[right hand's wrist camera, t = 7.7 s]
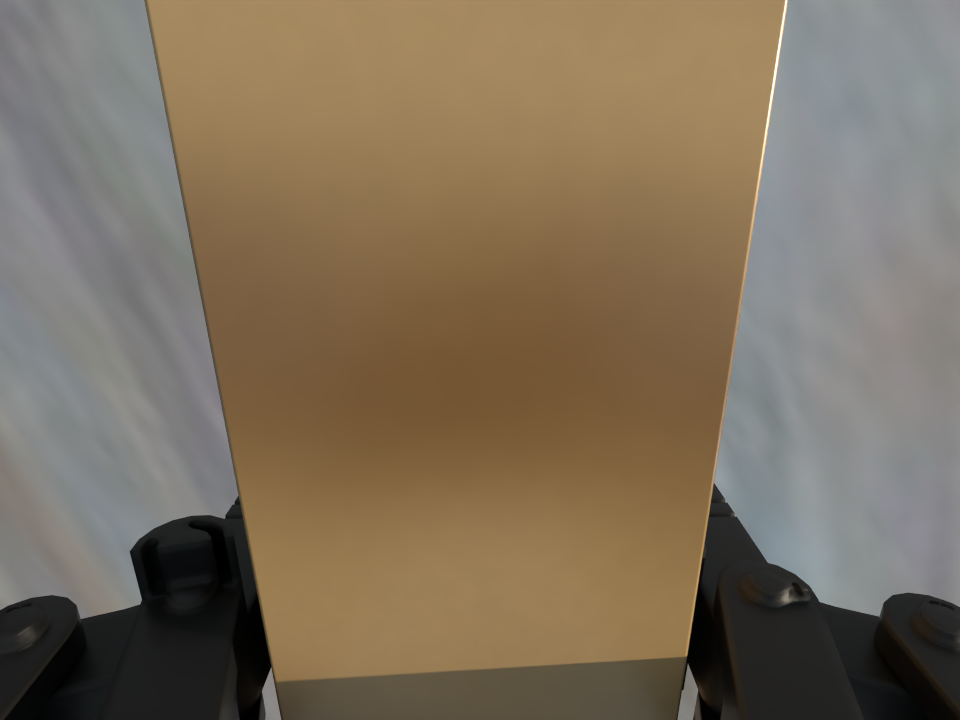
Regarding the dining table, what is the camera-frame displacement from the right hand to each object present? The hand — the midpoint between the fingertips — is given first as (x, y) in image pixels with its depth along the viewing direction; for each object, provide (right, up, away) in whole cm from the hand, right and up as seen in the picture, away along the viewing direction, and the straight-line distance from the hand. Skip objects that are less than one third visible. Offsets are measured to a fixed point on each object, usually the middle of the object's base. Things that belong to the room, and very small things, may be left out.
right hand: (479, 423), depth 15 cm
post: (0, +29, -11) cm, 31 cm away
